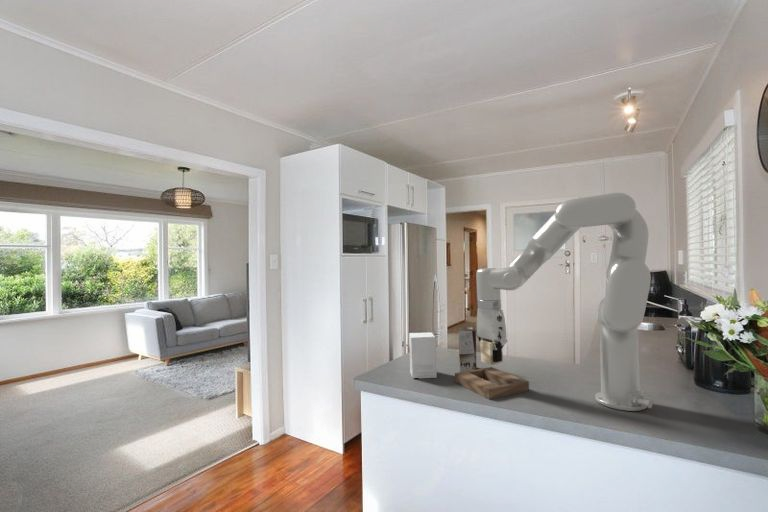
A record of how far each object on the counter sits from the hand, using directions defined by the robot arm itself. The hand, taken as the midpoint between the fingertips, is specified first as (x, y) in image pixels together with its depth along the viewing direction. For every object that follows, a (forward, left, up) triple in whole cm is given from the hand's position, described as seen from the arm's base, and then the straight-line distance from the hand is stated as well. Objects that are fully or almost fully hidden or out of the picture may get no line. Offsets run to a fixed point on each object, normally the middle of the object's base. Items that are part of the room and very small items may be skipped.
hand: (491, 359), depth 125 cm
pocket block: (0, 0, -9) cm, 9 cm away
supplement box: (+21, +14, -9) cm, 27 cm away
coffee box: (+18, -4, -9) cm, 21 cm away
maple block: (0, 0, -1) cm, 1 cm away
